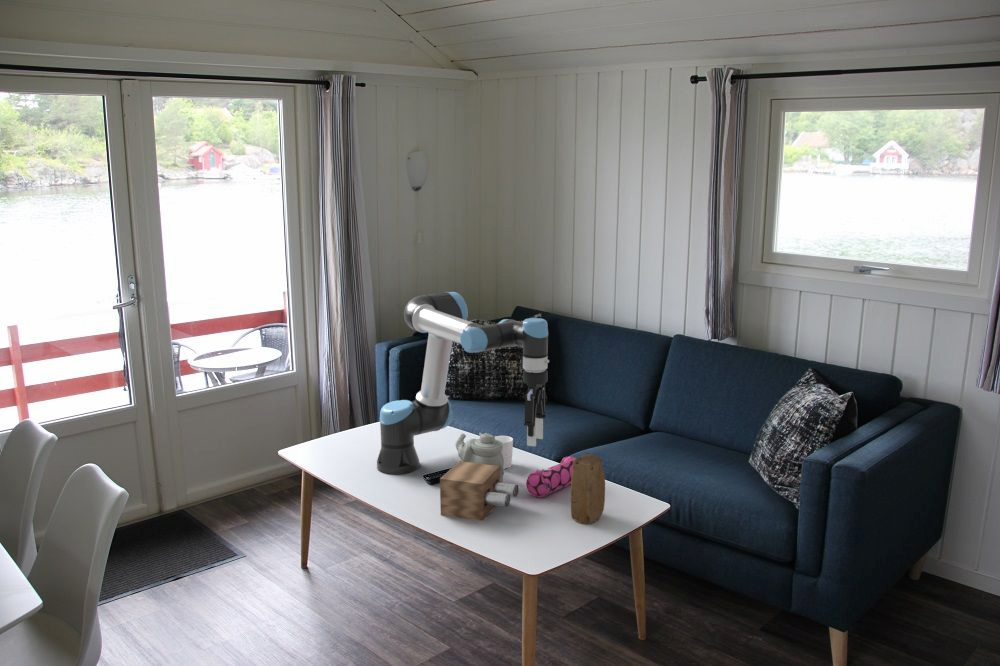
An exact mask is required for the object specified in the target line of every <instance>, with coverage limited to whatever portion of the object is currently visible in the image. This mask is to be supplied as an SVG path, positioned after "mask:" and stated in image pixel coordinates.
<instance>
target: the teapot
mask: <svg viewBox="0 0 1000 666" xmlns="http://www.w3.org/2000/svg"><path fill="white" fill-rule="evenodd" d="M478 436H479V438H471V439H468V440H467V441H466V442H464V440H465V439H466V437H467V435H466V434H465V433H461V435H460V436H459V437H458V439H457V440H456V441H455V448H456V450H457V455H458V457H459V459H460V460H461V461H462V462H470V463H478V464H486V465H495V466H500V483H504V482H503V481H504V474H505V470H504V469H503V465H504V458H503V455H502V453H501V452H502V448H503V445H502V442H501V441H499V440H496V439H495V436H494V435H492V434H491V433H489V432H485V433H483V432H479V433H478Z"/></svg>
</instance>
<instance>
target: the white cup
mask: <svg viewBox="0 0 1000 666" xmlns="http://www.w3.org/2000/svg"><path fill="white" fill-rule="evenodd" d="M494 437H495V439H496V440H499V441H501V442H502V445H503V448H502V452H501V453H502V455H503V458H504V465H503V470H504V469H505V468H506V469H509V468H511V466H512V465H513V463H512V461H513V451H514V448H513V445H514V438H513V437H511V436H508V435H496V436H494ZM506 469H505V470H506Z"/></svg>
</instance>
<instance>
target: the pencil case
mask: <svg viewBox="0 0 1000 666" xmlns="http://www.w3.org/2000/svg"><path fill="white" fill-rule="evenodd" d="M575 459H577V457H574V456H565V457H563V458H562V460H561V461H560V463H558V464H556V465H553V466H550V467H547V469H546V468H545V469H544V468H542V469H538V468H536V470H535V471H532V472H530V473H529V475H527V478H526V490H527V491H528V493H529V494H530V495H531V496H532V497H534V498H544V497H547V496H548V495H550V494H552V493H554V492H556V491H558V490H561V489H563V488H565V487H568V486H569V485H571V479H572V477H571V476H572V471H573V462H574V460H575Z"/></svg>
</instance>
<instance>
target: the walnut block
mask: <svg viewBox="0 0 1000 666" xmlns="http://www.w3.org/2000/svg"><path fill="white" fill-rule="evenodd" d="M495 482H498V483H500V466H495V465H486V464H478V463H470V462H462V460H461V461H460V460H459V461H458V462H457V463H455V465H453V466H452V467H451V468H449V470H448V471H447V472H446V473H444V474H443V475H442V476H441V477H440V478H439V498H440V499H439V501H440V502H439V503H440V516H446V517H451V518H452V517H453V518H458V519H459V518H460V519H466V520H472V521H480V522H481V521H482V522H483V521H484V520H485V519H486V518H487V517H488V516H489V515H490V513H491V512H492V511H493V510H494V509H495V508H496V506H497V505H490V504H484V493H485V492H486V491H487V492H493V484H494V483H495Z"/></svg>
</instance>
